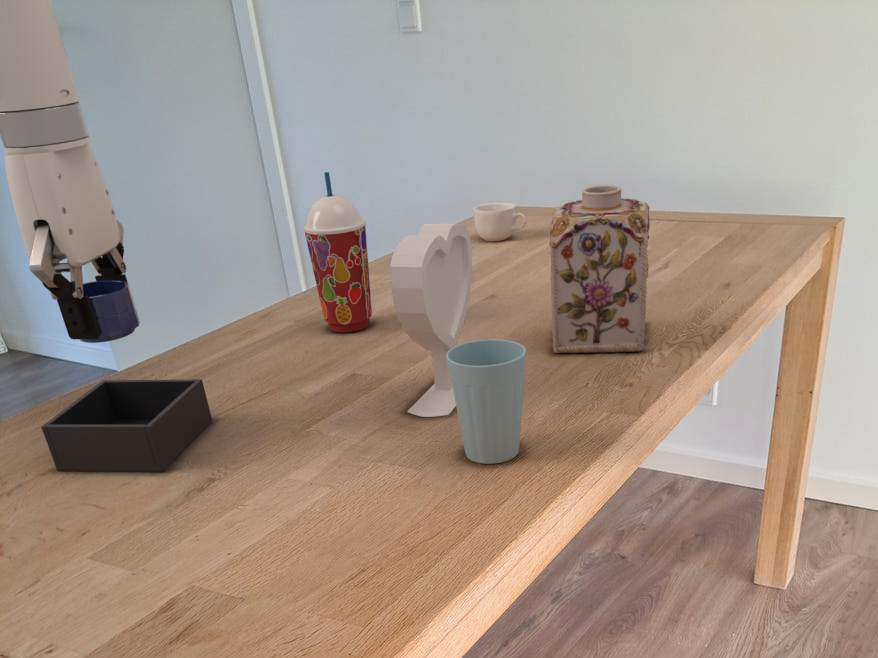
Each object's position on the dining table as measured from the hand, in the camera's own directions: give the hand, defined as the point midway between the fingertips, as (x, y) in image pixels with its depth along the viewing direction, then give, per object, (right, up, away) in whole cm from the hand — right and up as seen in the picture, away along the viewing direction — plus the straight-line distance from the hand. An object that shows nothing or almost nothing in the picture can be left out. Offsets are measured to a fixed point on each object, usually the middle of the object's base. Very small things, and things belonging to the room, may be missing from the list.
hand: (103, 324), depth 94 cm
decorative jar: (+54, +7, +26) cm, 61 cm away
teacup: (+43, +41, +74) cm, 95 cm away
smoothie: (+20, +12, +37) cm, 44 cm away
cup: (+40, -13, 0) cm, 42 cm away
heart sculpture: (+35, -4, +14) cm, 37 cm away
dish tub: (+1, -11, +7) cm, 13 cm away
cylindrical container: (0, -1, +1) cm, 1 cm away
